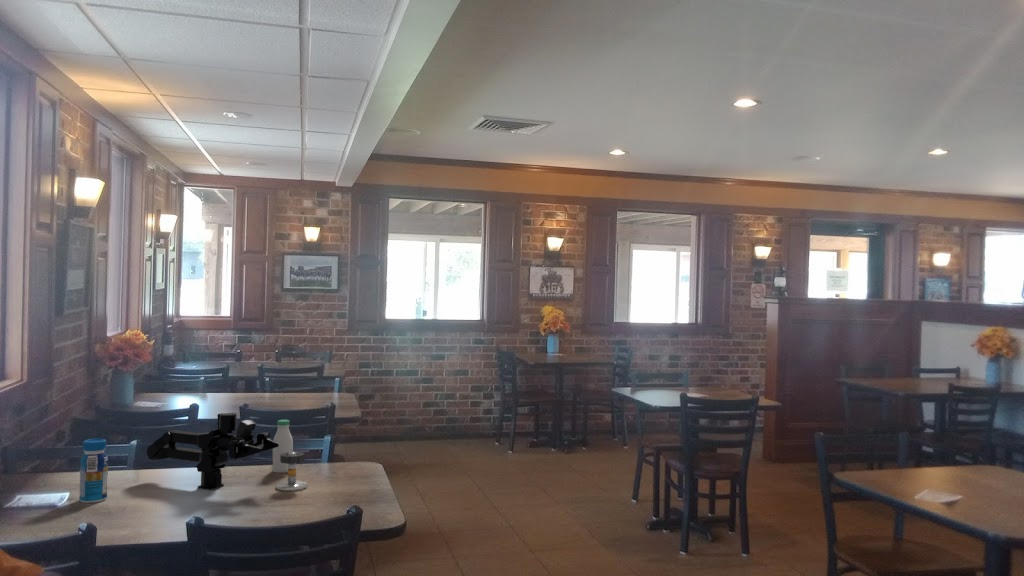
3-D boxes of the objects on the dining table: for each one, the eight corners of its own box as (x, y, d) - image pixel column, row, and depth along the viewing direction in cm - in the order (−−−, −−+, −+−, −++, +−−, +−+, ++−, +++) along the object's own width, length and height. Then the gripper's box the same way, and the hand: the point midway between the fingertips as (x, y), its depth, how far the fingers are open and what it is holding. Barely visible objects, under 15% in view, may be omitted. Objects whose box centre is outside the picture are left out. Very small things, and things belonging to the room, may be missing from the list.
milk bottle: (296, 470, 295) (297, 420, 295) (281, 474, 288) (282, 422, 288) (283, 467, 299) (284, 418, 299) (267, 471, 292) (269, 420, 292)
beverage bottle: (72, 501, 246) (74, 441, 247) (94, 495, 254) (96, 436, 254) (91, 504, 244) (93, 443, 244) (113, 498, 252) (114, 439, 252)
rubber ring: (276, 462, 268) (276, 455, 268) (290, 457, 275) (290, 451, 275) (294, 464, 265) (294, 457, 265) (308, 459, 273) (308, 453, 273)
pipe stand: (269, 489, 267) (270, 454, 267) (288, 481, 277) (289, 448, 277) (294, 492, 263) (295, 457, 263) (313, 485, 274) (314, 451, 274)
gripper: (215, 424, 256) (252, 429, 251) (252, 416, 274) (287, 420, 268) (214, 457, 256) (251, 462, 251) (251, 446, 274) (286, 451, 268)
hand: (269, 447), depth 259 cm, fingers open, 9 cm apart
